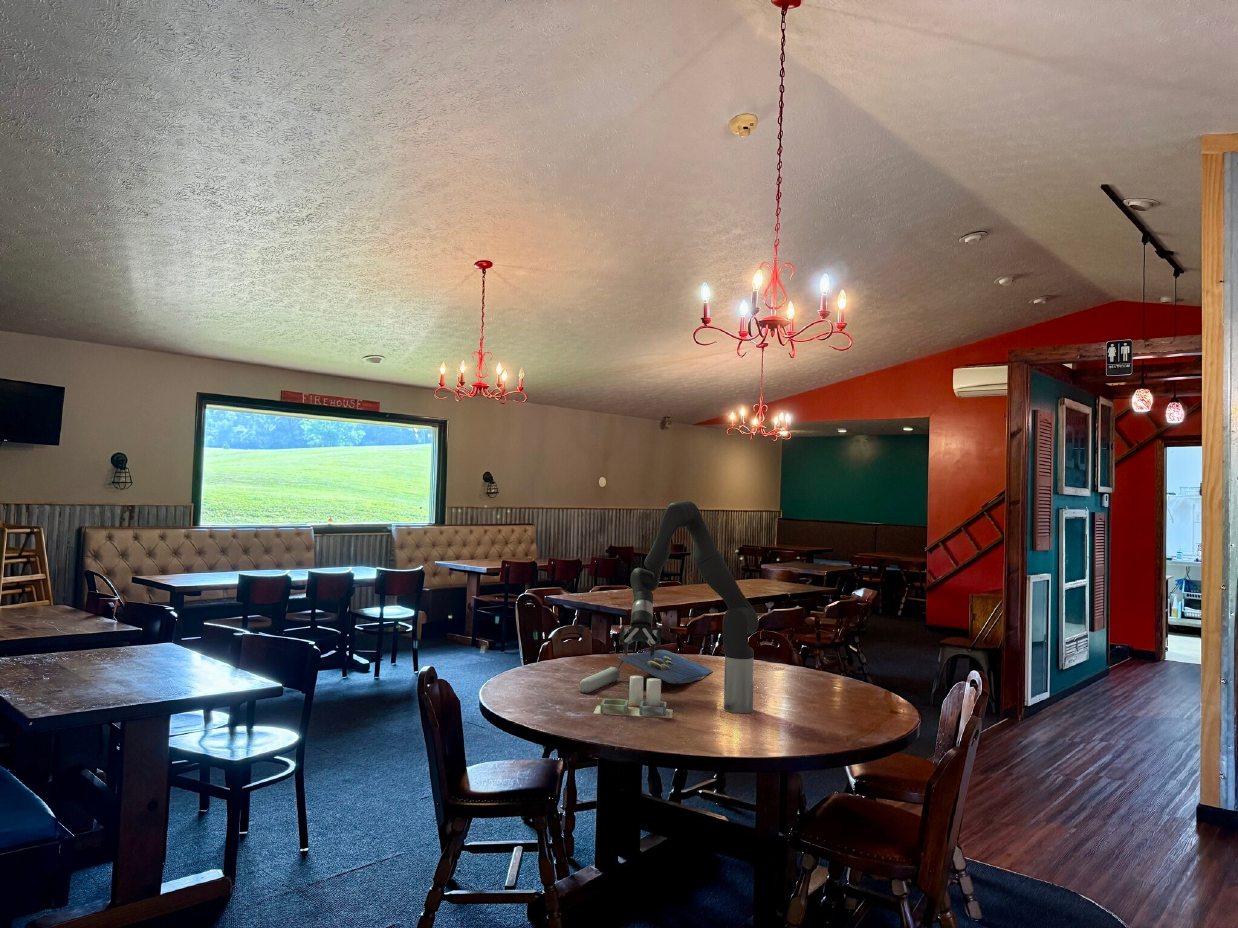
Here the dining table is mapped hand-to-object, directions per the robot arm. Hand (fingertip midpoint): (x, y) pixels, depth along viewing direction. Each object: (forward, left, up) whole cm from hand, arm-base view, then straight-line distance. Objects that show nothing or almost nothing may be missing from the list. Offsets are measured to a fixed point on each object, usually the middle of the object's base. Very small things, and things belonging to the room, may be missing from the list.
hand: (638, 654), depth 273 cm
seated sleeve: (-6, +21, -14) cm, 26 cm away
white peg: (0, +11, -15) cm, 19 cm away
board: (0, +21, -15) cm, 26 cm away
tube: (+15, -18, -16) cm, 28 cm away
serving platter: (-7, -39, -15) cm, 43 cm away
